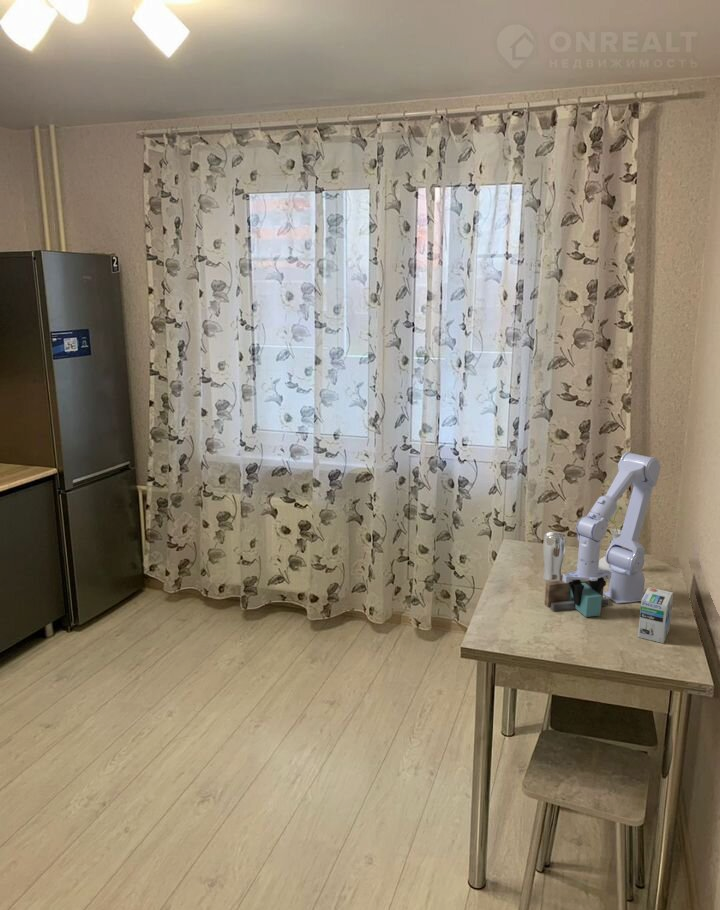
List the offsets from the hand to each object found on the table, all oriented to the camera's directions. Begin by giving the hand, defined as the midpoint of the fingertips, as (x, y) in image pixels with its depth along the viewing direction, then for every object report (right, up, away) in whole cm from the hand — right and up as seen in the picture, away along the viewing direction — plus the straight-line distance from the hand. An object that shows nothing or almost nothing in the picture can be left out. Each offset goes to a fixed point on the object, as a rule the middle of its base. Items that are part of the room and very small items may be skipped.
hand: (584, 603), depth 198 cm
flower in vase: (+20, +4, +31) cm, 37 cm away
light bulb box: (+15, -6, -12) cm, 20 cm away
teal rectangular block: (0, -2, +1) cm, 2 cm away
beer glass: (-3, +3, +24) cm, 24 cm away
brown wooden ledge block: (-1, -1, +4) cm, 5 cm away
